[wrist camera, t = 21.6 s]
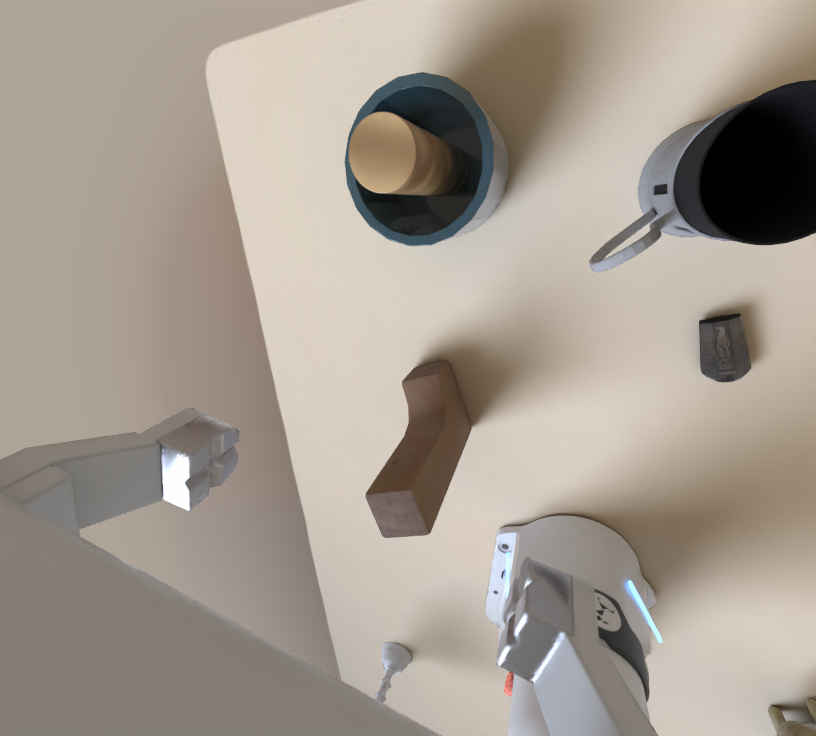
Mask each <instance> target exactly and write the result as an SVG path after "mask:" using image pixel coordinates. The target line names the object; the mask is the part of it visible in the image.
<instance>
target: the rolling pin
mask: <svg viewBox="0 0 816 736" xmlns="http://www.w3.org/2000/svg"><path fill="white" fill-rule="evenodd" d="M349 162H350V166H351V169H352V171H353V174H354V176H355V177H356V179H357V180H358V181H359V183H360V184H361V185H362V186H364V187H365V188H366V189H368V190H370V191H372V192H375V193H385V194H404V195H424V196H444V197H446V196H451V195H454V194H456V193H457V192H459V191H460V190H461V189H462V188H463V186H464V185H465V183H466V181H467V178H468V174H469V164H468V160H467V158H466V156H465V154H464V153H463V151H461V150H460V149H459V148H458V147H456V146H454V145H452V144H450V143H448V142H446V141H444V140H443V139H441V138H439V137H437V136H435V135H433V134H431V133H429V132H428V131H426V130H424V129H422V128H420V127H418V126H416V125H414V124H412V123H411V122H409V121H407V120H405V119H403V118H401V117H399V116H397V115H395V114H393V113H390V112H376V113H373V114H370V115H368V116H367V117H365V118H364V119H363V120H362V121H361V122H360V123H359V124H358V125H357V127H356V128H355V130H354V132H353V134H352V136H351V140H350V144H349Z"/></svg>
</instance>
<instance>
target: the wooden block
mask: <svg viewBox="0 0 816 736" xmlns="http://www.w3.org/2000/svg"><path fill="white" fill-rule="evenodd" d="M402 386H403V389H404V393H405V396H406V399H407V403H408V410H409V424H408V427H407V430H406V433H405V436H404V437H403V439H402V440H401V442H400V443H399V445H398V446H397V448H396V449H395V451H394V452H393V454H392V455H391V457H390V458H389V460H388V461H387V463H386V464H385V466H384V467H383V469H382V470H381V472H380V473H379V475H378V476H377V478H376V479H375V481H374V482H373V484H372V485H371V487H370V488H369V490H368V491H367V493H366V499H367V502H368V504H369V506H370V509H371V511H372V513H373V515H374V518H375V520H376V522H377V525H378V527H379V529H380V532H381V534H382V536H383V537H385V538H391V537H407V536H422V535H428V534H429V533H430V532H431V530H432V527H433V525H434V522H435V520H436V517H437V515H438V512H439V510H440V507H441V505H442V502H443V500H444V497H445V495H446V492H447V490H448V487H449V485H450V482H451V480H452V477H453V474H454V472H455V469H456V467H457V464H458V462H459V459H460V457H461V454H462V452H463V449H464V447H465V444H466V442H467V439H468V437H469V434H470V432H471V424H470V422H469V419H468V416H467V413H466V410H465V407H464V404H463V401H462V398H461V396H460V393H459V390H458V387H457V384H456V381H455V378H454V376H453V373H452V370H451V367H450V364H449V362H448V360H443V361H439V362H435V363H431V364H427V365H423V366H419V367H415V368H414V369H413V370H412V371H411V372H410V373H409V374H408V375H407V377H406V378H405V379H404V380H403V381H402Z"/></svg>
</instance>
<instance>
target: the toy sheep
mask: <svg viewBox="0 0 816 736" xmlns="http://www.w3.org/2000/svg"><path fill="white" fill-rule="evenodd" d="M806 704H807V707H808V709H809V711H810V713H811V715H812V717H813V719H814V721H815V723H802V724H801V723H798V722H794V721H785V719H784V716H783V714H782V712H781V710H780V709H779V708H777V707H769V709H768V712H769V715H770V717H771V719H772V722H773V724H774V727H775V729H776V731H777V736H816V700H814V699H809V700H807V702H806Z"/></svg>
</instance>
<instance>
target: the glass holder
mask: <svg viewBox="0 0 816 736" xmlns="http://www.w3.org/2000/svg"><path fill="white" fill-rule="evenodd" d="M638 192H639V202H640V206H641V209H642V211H643V213H644V215H643V216H642V217H641V218H639V219H638V220H637V221H635V222H634V223H632V224H631V225H630V226H628V227H627V228H626V229H624V230H623V231H622V232H620V233H619V234H618V235H616V236H615V237H614V238H612V239H611V240H610V241H608V242H607V243H606V244H605V245H604V246H602V247H601V248H600V249H599V250H598V251H597V252H596V253H595V254H594V255H593V256H592V258H591V259H590V266H591V268H592V270H593V271H594V272H597V273H598V272H603V271H606V270H609V269H611V268H613V267H616V266H617V265H619V264H621V263H623V262H625V261H627V260H629V259H631V258H633V257H634V256H636V255H638V254H639V253H641V252H643V251H644V250H646V249H647V248H648V247H650V246H651V245H652V244H653V243H655V242H656V241H657V240H658V239H659V238H660V236H661V231H662V232H664V233H667V234H670V235H674V236H680V237H695V236H702V237H706V238H710V239H716V240H722V241H737V242H742V243H747V244H753V245H775V244H782V243H788V242H791V241H795V240H798V239H802V238H804V237H807V236H809V235H811V234H814V233H816V80H810V81H799V82H795V83H791V84H787V85H783V86H781V87H778V88H776V89H773V90H771V91H768V92H766V93H764V94H762V95H760V96H758V97H756V98H755V99H753V100H751V101H746V102H744V103H741V104H738V105H736V106H733V107H731V108H730V109H728V110H726V111H724V112H722V113H721V114H719V115H717V116H715V117H713V118H712V119H710V120H706V121H701V122H697V123H694V124H691V125H689V126H686V127H684V128H682V129H680V130H678V131H677V132H675V133H673V134H672V135H670V136H669V137H668V138H667V139H665V140H664V141H663V142H662V143H661V144H660V145H659V146H658V147H657V148H656V149H655V150H654V152H653V153H652V155H651V156H650V157H649V159H648V161H647V162H646V164H645V166H644V168H643V171H642V174H641V177H640V182H639V188H638ZM649 222H650V223H651V225H650V229H651V230H650V232H648V233H647V234H646V235H645V236H643V237H642V238H641V239H639V240H638V241H636V242H635V243H633V244H631V245H630V246H628V247H626V248H625V249H623V250H621V251H619V252H617V253H616V254H614V255H612V256H610V257H608V258H606V259H604V258H605V256H607V255H608V254H609V253H610V252H611V251H612V250H613V249H615V248H616V247H617V246H618V245H620V244H621V243H622V242H624V241H625V240H626V239H628V238H629V237H630V236H632V235H633V234H634V233H636V232H637V231H638V230H640V229H641V228H642V227H644V226H645V225H646V224H648V223H649ZM660 230H661V231H660Z"/></svg>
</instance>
